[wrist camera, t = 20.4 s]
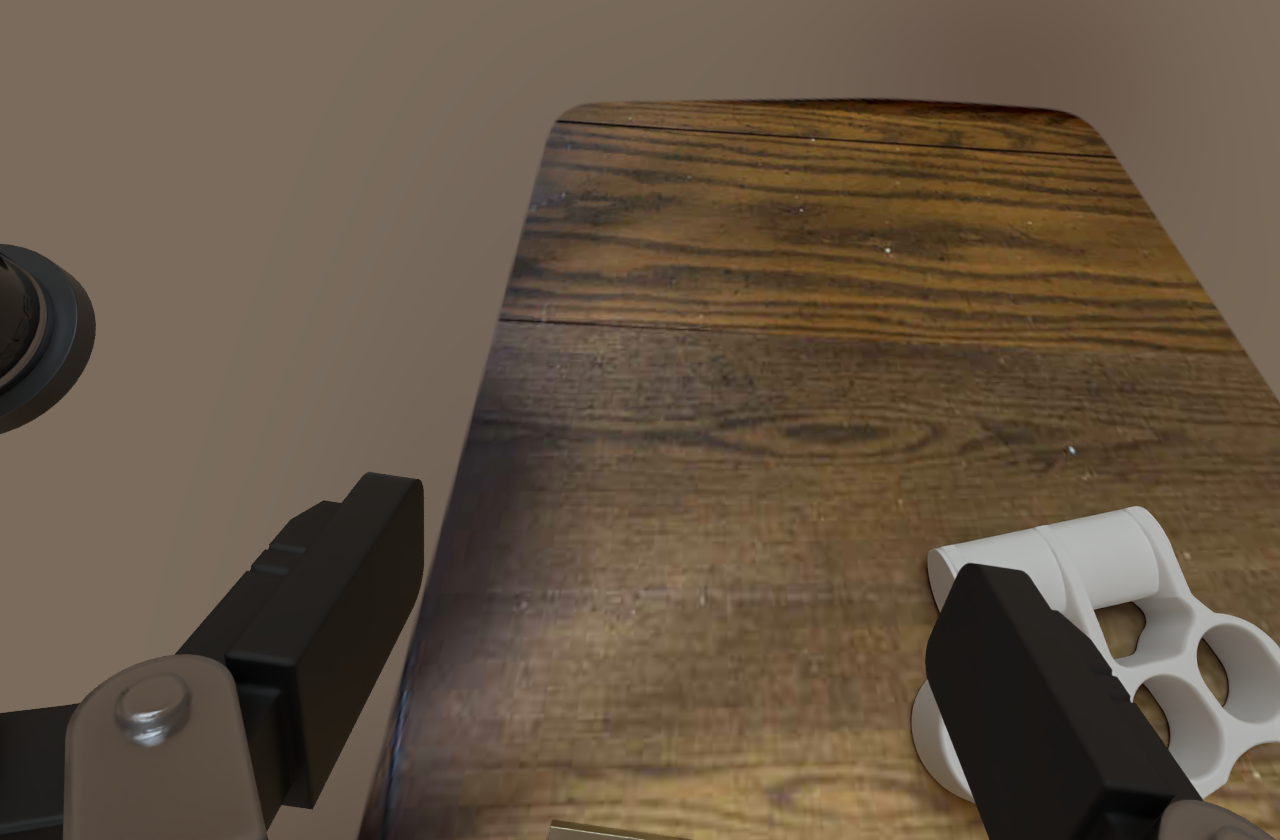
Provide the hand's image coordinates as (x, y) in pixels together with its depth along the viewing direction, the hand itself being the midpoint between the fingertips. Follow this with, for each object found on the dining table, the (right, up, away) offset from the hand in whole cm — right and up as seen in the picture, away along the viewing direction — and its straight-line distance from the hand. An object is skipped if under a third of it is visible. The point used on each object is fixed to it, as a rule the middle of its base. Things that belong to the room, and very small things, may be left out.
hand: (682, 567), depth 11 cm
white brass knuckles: (+21, -11, +26) cm, 35 cm away
